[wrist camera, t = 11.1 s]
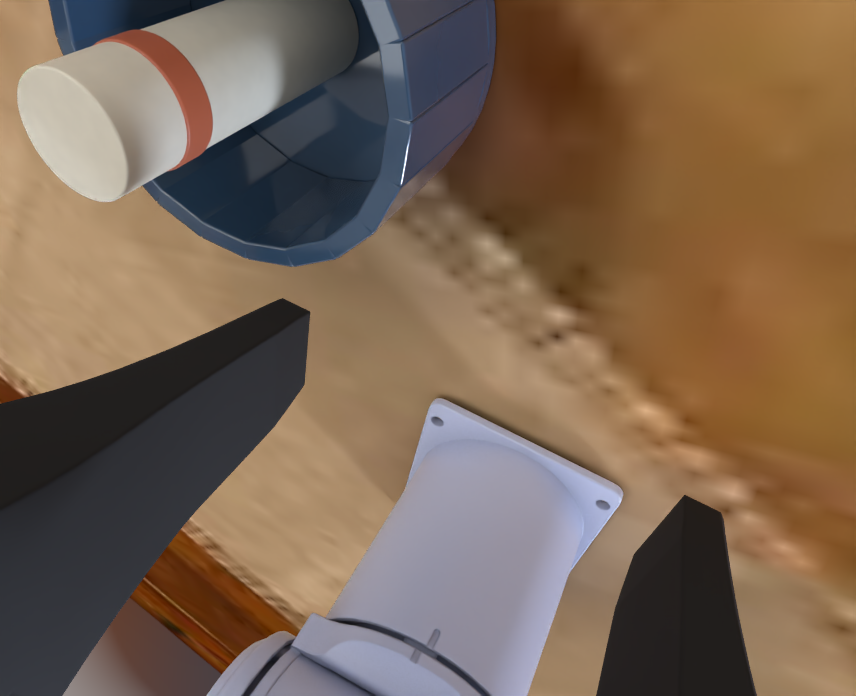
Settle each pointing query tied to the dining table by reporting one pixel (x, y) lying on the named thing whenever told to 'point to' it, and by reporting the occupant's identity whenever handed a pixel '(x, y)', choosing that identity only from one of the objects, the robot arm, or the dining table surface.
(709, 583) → the robot arm
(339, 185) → the holder
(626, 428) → the dining table surface
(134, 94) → the dowel
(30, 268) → the dining table surface
